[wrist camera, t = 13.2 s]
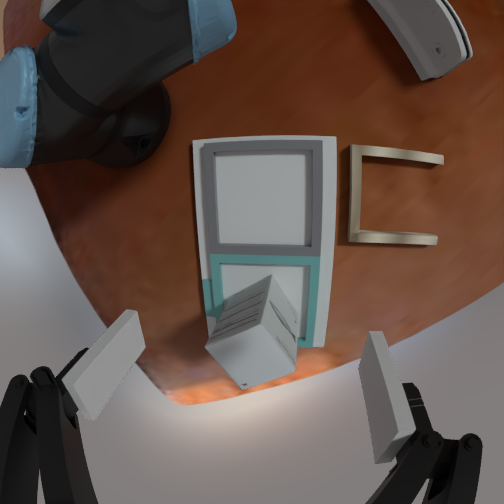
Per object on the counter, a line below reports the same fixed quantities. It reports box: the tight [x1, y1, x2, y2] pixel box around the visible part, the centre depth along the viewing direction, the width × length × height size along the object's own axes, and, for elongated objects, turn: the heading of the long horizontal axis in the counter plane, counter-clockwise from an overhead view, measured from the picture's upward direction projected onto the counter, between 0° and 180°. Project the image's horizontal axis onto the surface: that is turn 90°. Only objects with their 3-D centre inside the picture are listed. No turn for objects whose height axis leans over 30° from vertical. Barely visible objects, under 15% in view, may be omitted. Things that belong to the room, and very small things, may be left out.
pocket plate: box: [193, 136, 337, 348], centre depth 37 cm, size 18×30×2 cm, turn 1°
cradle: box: [347, 145, 444, 245], centre depth 32 cm, size 13×12×2 cm
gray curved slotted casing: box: [367, 0, 473, 81], centre depth 20 cm, size 17×5×10 cm, turn 28°
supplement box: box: [205, 274, 298, 390], centre depth 33 cm, size 7×7×13 cm
